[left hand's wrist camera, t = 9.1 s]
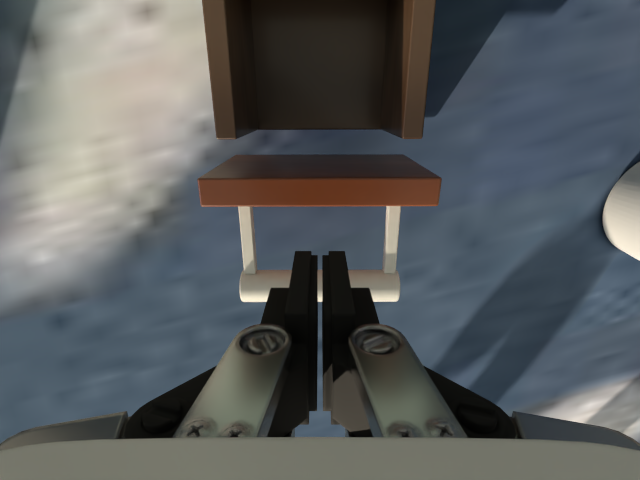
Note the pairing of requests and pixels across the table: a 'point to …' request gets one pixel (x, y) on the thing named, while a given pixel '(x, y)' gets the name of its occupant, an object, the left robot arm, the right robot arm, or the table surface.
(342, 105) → the drawer
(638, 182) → the coffee cup
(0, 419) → the table surface
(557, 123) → the table surface
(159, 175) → the table surface
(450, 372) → the table surface
